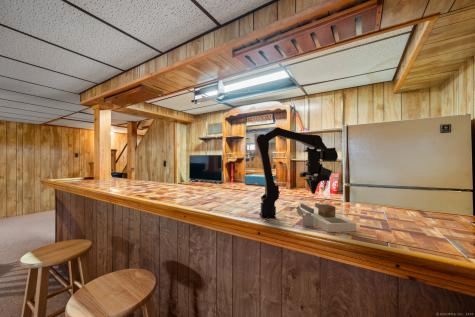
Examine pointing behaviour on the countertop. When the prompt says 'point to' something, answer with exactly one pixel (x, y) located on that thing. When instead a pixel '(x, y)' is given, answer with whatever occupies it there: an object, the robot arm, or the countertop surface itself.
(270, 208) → the robot arm
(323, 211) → the block
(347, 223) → the pale grey tray
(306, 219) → the lighter
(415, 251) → the countertop surface
